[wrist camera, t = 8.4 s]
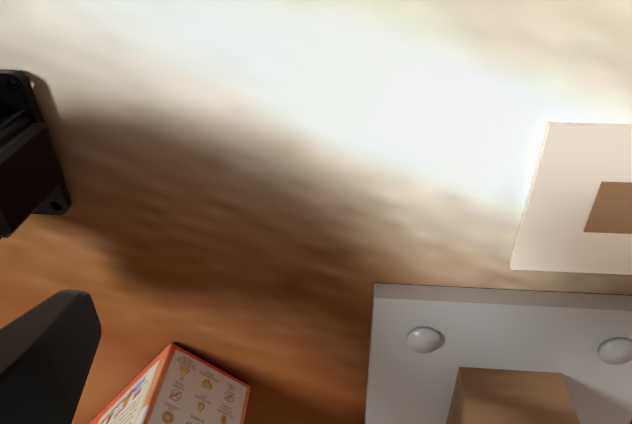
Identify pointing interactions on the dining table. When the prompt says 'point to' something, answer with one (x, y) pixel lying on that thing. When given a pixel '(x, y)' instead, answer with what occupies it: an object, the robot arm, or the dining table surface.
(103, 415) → the cracker box
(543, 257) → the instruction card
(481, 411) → the walnut cube
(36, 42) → the dining table surface
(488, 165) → the dining table surface
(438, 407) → the plate
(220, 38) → the dining table surface
